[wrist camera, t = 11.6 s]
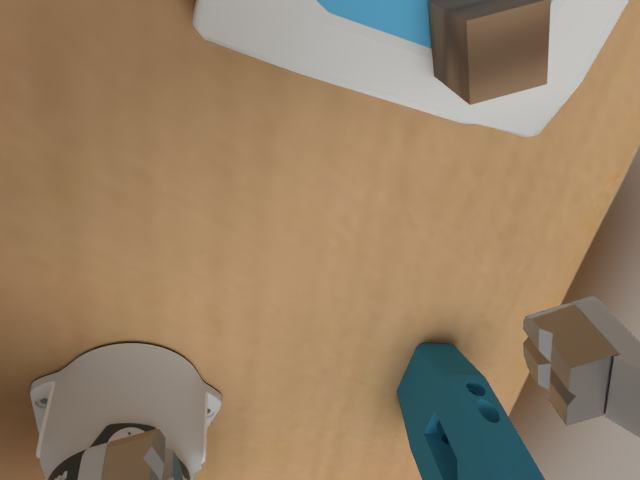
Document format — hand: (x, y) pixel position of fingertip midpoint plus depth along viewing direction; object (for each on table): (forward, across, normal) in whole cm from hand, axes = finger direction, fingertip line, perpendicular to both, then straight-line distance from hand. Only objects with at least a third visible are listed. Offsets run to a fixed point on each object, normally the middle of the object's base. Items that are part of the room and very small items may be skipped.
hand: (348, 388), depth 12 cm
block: (+34, -10, +42) cm, 55 cm away
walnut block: (+28, -15, +3) cm, 32 cm away
